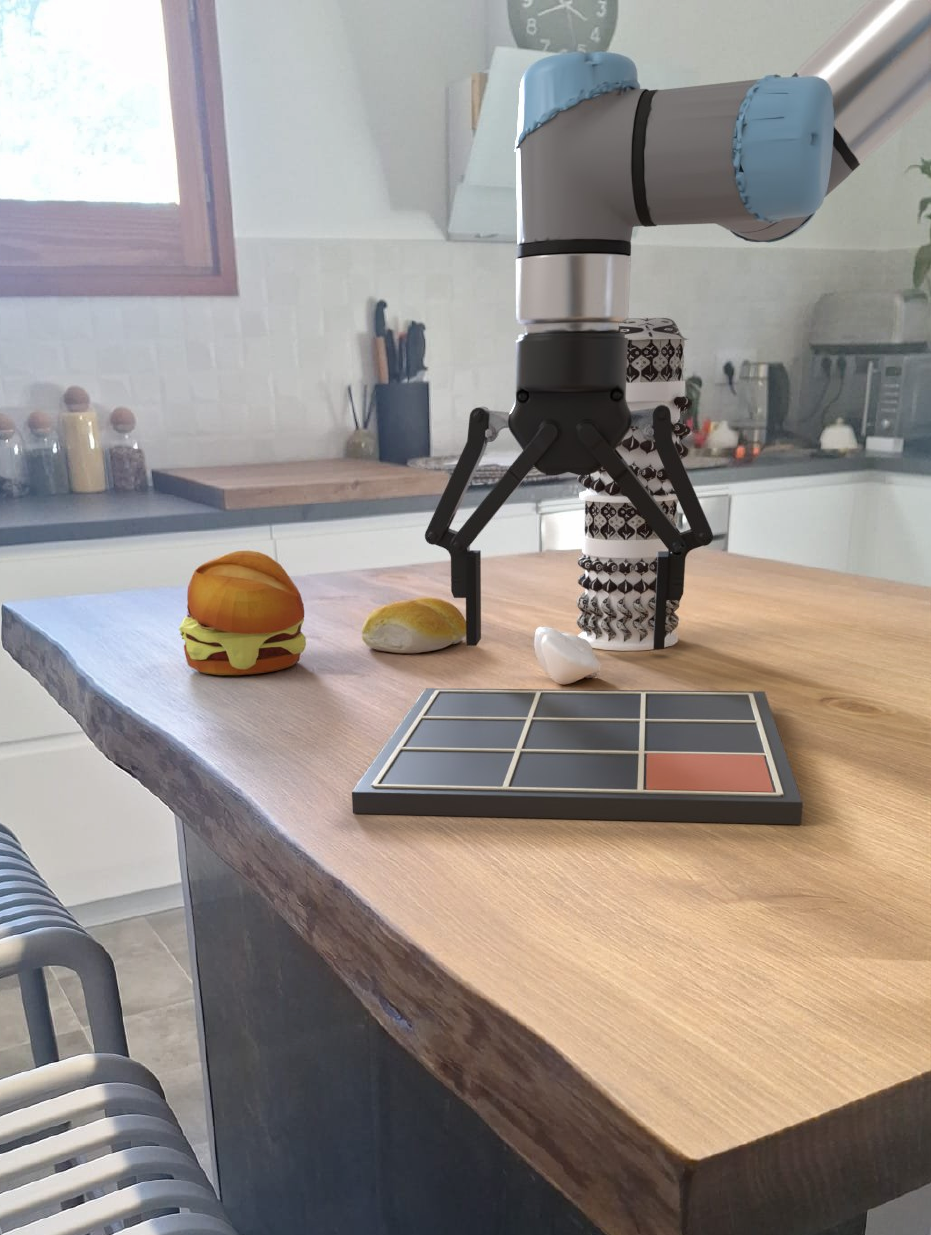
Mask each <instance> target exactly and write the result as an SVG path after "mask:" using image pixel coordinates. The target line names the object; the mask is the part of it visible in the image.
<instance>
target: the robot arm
mask: <svg viewBox="0 0 931 1235" xmlns="http://www.w3.org/2000/svg"><path fill="white" fill-rule="evenodd" d="M518 98H519V99H518V101H519V102H518V116H517V117H518V118H517V134H516V139H515V142H514V146H515V147H514V153H515V155H516V234H517V235H516V238H517V239H516V240H517V243H516V244H517V245H516V246H517V247H516V258H517V259H516V260H515V314H516V315H515V321H516V323H517V324H518V325H520V326H524V334H519V335H518V339H516V340H515V398H514V403H513V407H512V409H511V411H502V410H492V409H490V408H488V407H487V406H479V407H475V408H474V409H472V410H471V412H470V414H469V417H468V418H469V419H468V429H467V437H466V438H467V440H466V443H465V445H464V448H463V450H462V451H461V453H460V456H459V458H458V460H457V463H456V465H455V467H454V469H453V471H452V474H451V476H450V477H449V480H448V482H447V485H446V487H445V488H444V491H443V493H442V496H441V498H440V500H439V502H438V504H437V506H436V508H435V511H434V513H433V515H432V517H431V520H430V521H429V524H428V526H427V528H426V530H425V533H424V540H425V541H426V543H427V544H428V545H429V544H430V545H435V546H437V547H440V548H442V549H445V550H446V551H447V552H448V554H449V556H450V591H451V594H452V597H453V598H454V599H465V621H466V636H465V646H466V647H477V646H478V644H479V643H480V641H481V639H482V585H481V584H482V570H481V569H482V567H481V566H482V563H481V562H482V559H481V558H482V556H481V555H482V554H481V552H482V551H481V550H479V549H477V550H476V549H474V550H473V549H471V545H472V543H473V542H474V541H476V539H477V537H478V536H479V535H480V534H481V533H482V532H483V530H484V528H485V527H486V526H487V525H488V524H489V523H490V522H491V520H492V519H493V517H495V515H496V514H497V512H499V510H500V509H501V508H502V506H504V504H505V503H506V502H507V501H508V499H509V498H510V497H511V496H512V494H513V493H514V492H515V491H516V490H517V488H518V487H519V486H520V485H521V483H522V482H523V481H524V480H525V478H527V476H528V475H529V474H530V472H532V470H533V469H534V468H535V469H536V470H537V471H538V472H539V473H541V474H544V475H545V476H559V475H563V474H566V473H570V474H574V475H577V476H579V475H591V474H592V473H595V472H597V471H599V470H600V469H601V468H602V467H603V468H604V469H605V470H606V472H607V473H608V474H609V476H610V477H611V478H612V479H613V480H614V481H615V482H616V484H617V485H618V486H619V487H620V489H621V490H622V491H623V492H624V494H625V495H626V496H627V498H628V499H629V500H630V501H631V503H632V504H633V505H634V506H635V508H636V509H637V510H638V512H639V513H640V514H641V515H642V517H643V518H644V519H645V520H646V522H647V523H648V524H649V526H650V527H651V528H652V529H653V531H654V532H655V533H656V534H657V536H658V537H659V538H660V540H661V541H662V542H663V543H664V545H665V546H666V547H667V548H668V551H658V560H657V580H656V601H655V622H654V649H653V650H665V647H664V642H665V622H666V603H667V600H680V601H681V600H682V597H683V596H684V590H685V573H686V558H687V555H688V554H689V553H690V552H691V551H692V550H695V549H698V548H701V547H705V546H706V547H707V546H709V545H710V544H711V543H712V542H713V539H714V534H713V530H712V528H711V526H710V524H709V521H708V518H707V517H706V514H705V512H704V509H703V507H702V504H701V502H700V499H699V498H698V495H697V494H696V491H695V488H694V486H693V484H692V482H691V479H690V477H689V474H688V472H687V470H686V468H685V465H684V463H683V460H682V459H681V458H680V456H679V454H678V451H677V449H676V447H675V444H674V442H673V440H672V427H671V413H670V409H669V408H668V407H667V406H666V405H662V404H661V405H658V406H656V407H655V408H650V409H643V410H635V411H630V410H629V408H628V405H627V402H626V375H627V347H628V338H625V333H621V329H619V323H625V322H626V321H627V319H629V314H630V313H629V312H630V311H629V309H630V287H631V264H632V263H631V262H632V257H631V256H632V238H633V237H632V236H633V229H634V228H635V227H644V228H649V227H657V226H679V225H680V226H682V225H683V226H684V225H707V224H708V225H710V224H711V225H712V224H716V225H718V226H719V227H721V228H724V229H725V230H727V231H729V232H730V233H732V234H733V235H734V236H735V238H739V239H742V240H744V241H745V242H750V243H773V242H774V243H775V242H778V241H782V240H784V239H787V238H789V237H791V236H793V235H795V234H796V233H798V232H799V231H801V230H802V229H804V227H805V226H807V224H808V223H809V222H810V221H811V220H812V219H813V218H814V216H815V214H816V213H817V211H818V210H819V209H820V208H822V205H823V203H824V200H825V198H826V197H827V196H829V195H830V193H832V192H833V191H834V190H835V189H836V188H837V187H839V185H841V184H842V183H843V182H844V181H845V180H846V179H847V178H848V177H850V175H851V174H852V173H854V171H855V170H856V169H858V168H859V166H860V165H861V164H862V163H864V161H866V160H867V158H869V157H870V156H871V155H872V154H873V153H875V152H876V151H877V150H878V149H879V148H880V147H881V146H882V145H884V143H886V142H887V141H888V140H889V139H890V138H891V137H893V136H894V135H895V134H896V133H897V132H898V131H899V130H900V129H901V128H903V127H904V126H905V125H906V124H907V123H908V122H909V121H910V120H912V119H913V118H914V117H915V116H916V115H918V114H919V113H920V112H921V111H922V110H923V109H924V108H925V107H926V106H927V105H929V103H931V0H867V1H866V2H865V3H864V4H863V5H862V6H861V7H860V8H859V9H858V10H857V11H856V12H855V13H853V15H851V17H850V18H849V19H847V20H846V21H845V23H843V24H842V25H841V27H839V28H838V29H837V30H836V31H835V32H834V33H833V34H832V35H831V36H830V37H829V38H828V39H827V40H826V41H825V42H824V43H823V44H822V45H820V47H819V48H818V49H817V50H816V51H814V52H813V53H812V55H810V56H809V57H808V58H807V59H806V60H805V61H804V62H803V63H802V64H801V65H800V66H799V67H798V68H797V69H796V70H795V72H794V73H793V74H792V75H791V76H785V77H784V76H783V77H782V76H781V75H779V74H777V73H776V74H766V75H765V76H764V77H762V78H756V79H747V80H739V81H730V82H729V81H728V82H721V83H710V84H702V85H693V86H684V87H675V88H664V89H648V88H641V84H640V83H639V81H638V68H637V66H636V64H635V62H634V61H633V60H632V59H631V58H630V57H628V56H626V55H624V54H620V53H615V52H608V51H594V52H584V51H573V52H565V53H558V54H552V55H548V56H545V57H543V58H540V59H538V60H537V61H534V62H533V63H532V64H531V65H530V66H529V67H527V69H526V70H525V72H523V75H522V77H521V80H520V87H519V97H518ZM631 427H637V428H639V429H640V431H641V433H642V436H643V437H644V439H646V440H648V441H653V440H655V445H656V449H657V452H658V454H659V457H660V459H661V461H662V464H663V466H664V468H665V471H666V473H667V475H668V478H669V480H670V482H671V484H672V487H673V489H674V491H675V494H676V496H677V498H678V504H679V505H680V507H681V510H682V512H683V514H684V517H685V519H686V522H687V524H688V526H689V529H688V530H684V531H680V529H679V528H678V527H677V525H676V526H675V525H674V523H673V522H672V521H671V520H670V518H669V517H668V516H667V514H666V513H665V512H664V511H663V509H662V508H661V507H660V506H659V504H658V503H657V502H656V500H655V499H654V498H653V497H652V495H651V494H650V493H649V491H648V490H647V489H646V488H645V486H644V485H643V484H642V482H641V481H640V480H639V479H638V477H637V476H636V475H635V473H634V472H633V471H632V470H631V468H630V467H629V465H628V464H627V463H626V461H625V460H624V459H623V457H622V456H621V455H620V454H619V452H618V451H617V450H616V448H617V447H618V445H619V444H620V442H621V441H622V440H623V438H624V437H625V435H626V434H627V433H628V431H629V430H630V428H631ZM504 429H508V430H509V432H510V433H511V435H512V436H513V438H514V440H516V443H517V444H518V445H519V447H520V448H521V449H522V451H521V452H520V454H518V456H517V457H516V459H515V460H514V461H513V463H511V465H510V466H509V468H508V469H507V470H506V471H505V473H504V474H503V475H502V477H501V478H500V479H499V480H498V482H496V484H495V485H494V486H493V487H492V489H491V490H490V492H489V493H487V495H486V496H485V498H483V500H482V501H481V503H480V504H479V505H478V506H477V508H476V509H475V510H474V512H473V513H472V514H471V515H470V516H469V518H468V519H467V520H466V521H465V522H464V523H463V525H462V526H461V527H460V529H459V530H458V531H457V530H455V529H453V528H450V527H451V525H452V523H453V521H454V519H455V517H456V515H457V512H458V510H459V508H460V506H461V504H462V502H463V499H464V497H465V495H466V493H467V491H468V488H469V486H470V484H471V482H472V481H473V478H474V476H475V474H476V471H477V469H478V467H479V465H480V463H481V461H482V459H483V456H484V454H485V452H486V449H487V446H488V443H492V442H495V441H496V440H497V439H498V438H499V436H500V433H501V432H502V431H503V430H504Z"/></svg>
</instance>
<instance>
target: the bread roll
mask: <svg viewBox="0 0 931 1235" xmlns="http://www.w3.org/2000/svg"><path fill="white" fill-rule="evenodd" d="M464 638H466V618H465V617H464V615H463V614H462V612H461V611H460V610H459V608H458V607H456V606H455V605H454V604H452V603H451V602H449V601H447V600H445V599H442V598H439V597H433V596H420V597H416V598H413V599H408V600H399V601H394V602H390V603H387V604H385V605H382V606H379V607H377V608H375V609H374V610H372V611H371V612H370V613H369V614H368V616H367V618H366V619H365V620H364V623H363V625H362V628H361V639H362V641H363V642H364V643H365V645H366V646H367V647H369V648H371V649H373V650H376V651H379V652H387V653H393V654H394V653H395V654H421V653H427V652H433V651H437V650H441V649H445V648H447V647H449V646H450V645H455V644H459V643H461V642H462V641H463V640H464Z"/></svg>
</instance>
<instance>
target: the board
mask: <svg viewBox="0 0 931 1235" xmlns="http://www.w3.org/2000/svg"><path fill="white" fill-rule="evenodd" d="M787 755H788V754H787V753H786V750H785V747H784V744H783V741H782V738H781V735H780V732H779V730H778V726H777V724H776V721H775V717H774V715H773V712H772V708H771V706H770V703H769V701H768V697H767V695H766V692H765V691H764V690H763V691H759V690H758V691H757V690H755V691H753V690H752V691H751V690H741V691H740V690H663V689H661V690H659V689H658V690H657V689H656V690H654V689H652V690H651V689H648V690H647V689H646V690H645V689H644V690H643V689H557V688H556V689H553V688H552V689H549V688H548V689H547V688H545V689H544V688H543V689H542V688H541V689H539V688H537V689H536V688H534V689H533V688H450V687H449V688H447V687H446V688H443V687H442V688H441V687H440V688H436V687H435V688H433V687H425V689H424V690H423V691H422V693H421V694H420V696H419V697H418V698H417V700H416V701H415V703H414V704H413V705H412V707H411V708H410V710H409V711H408V713H407V714H406V715H405V717H404V718H403V720H402V721H401V722H400V724H399V725H398V726H397V728H396V729H395V731H394V732H393V734H392V735H391V737H390V738H389V739H388V741H387V742H386V743H385V745H384V746H383V748H382V749H381V751H380V752H379V753H378V755H377V756H376V757H375V759H374V760H373V762H372V763H371V765H370V766H369V767H368V769H367V770H366V772H365V773H364V774H363V775H362V777H361V778H360V780H359V781H358V782H357V783H356V784H357V785H355V787H354V789H352V791H351V802H352V803H351V804H352V813H353V814H366V815H367V814H368V815H403V816H405V815H406V816H443V817H481V818H484V817H486V818H487V817H488V818H518V819H519V818H523V819H525V818H527V819H559V820H560V819H561V820H602V821H603V820H604V821H636V822H637V821H638V822H639V821H640V822H678V823H679V822H680V823H716V824H717V823H718V824H719V823H721V824H757V825H758V824H759V825H795V826H796V825H798V826H800V825H801V824H802V817H803V805H804V803H803V800H802V796H801V794H800V791H799V788H798V784H797V782H796V778H795V776H794V773H793V770H792V767H791V765H790V762H789V759H788V756H787Z"/></svg>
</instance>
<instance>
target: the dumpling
mask: <svg viewBox="0 0 931 1235" xmlns="http://www.w3.org/2000/svg"><path fill="white" fill-rule="evenodd" d="M533 640H534V642H533V645H534V646H533V647H534V653H535V656H536V659H537V662H538V665H539V666H540V668H541V669H542V670H543V671H544V673H545V674H546V675H548V676H549V677H550V678H551V680H552V681H553V682H554V683H557V684H558V685H562V686H564V685H569V684H572V683H575V682H577V681H580V680H582V679H584V678H585V679H590V678H591V679H592V678H596V677H597V676H599V675H600V673H601V672H600V671H601V670H600V669H601V662H600V661H599V659H597V657H596V655H595V652H594V648H592V647H591V645H590V644H589V642H588V641H587V640H585V639H583V638H581V637H579V636H578V635H576V634H571V633H566V632H563V631H559V630H558V629H555V628H553V627H549V626H539V627H537V628H536V630H535V633H534V638H533ZM607 646H608V645H607Z"/></svg>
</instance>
